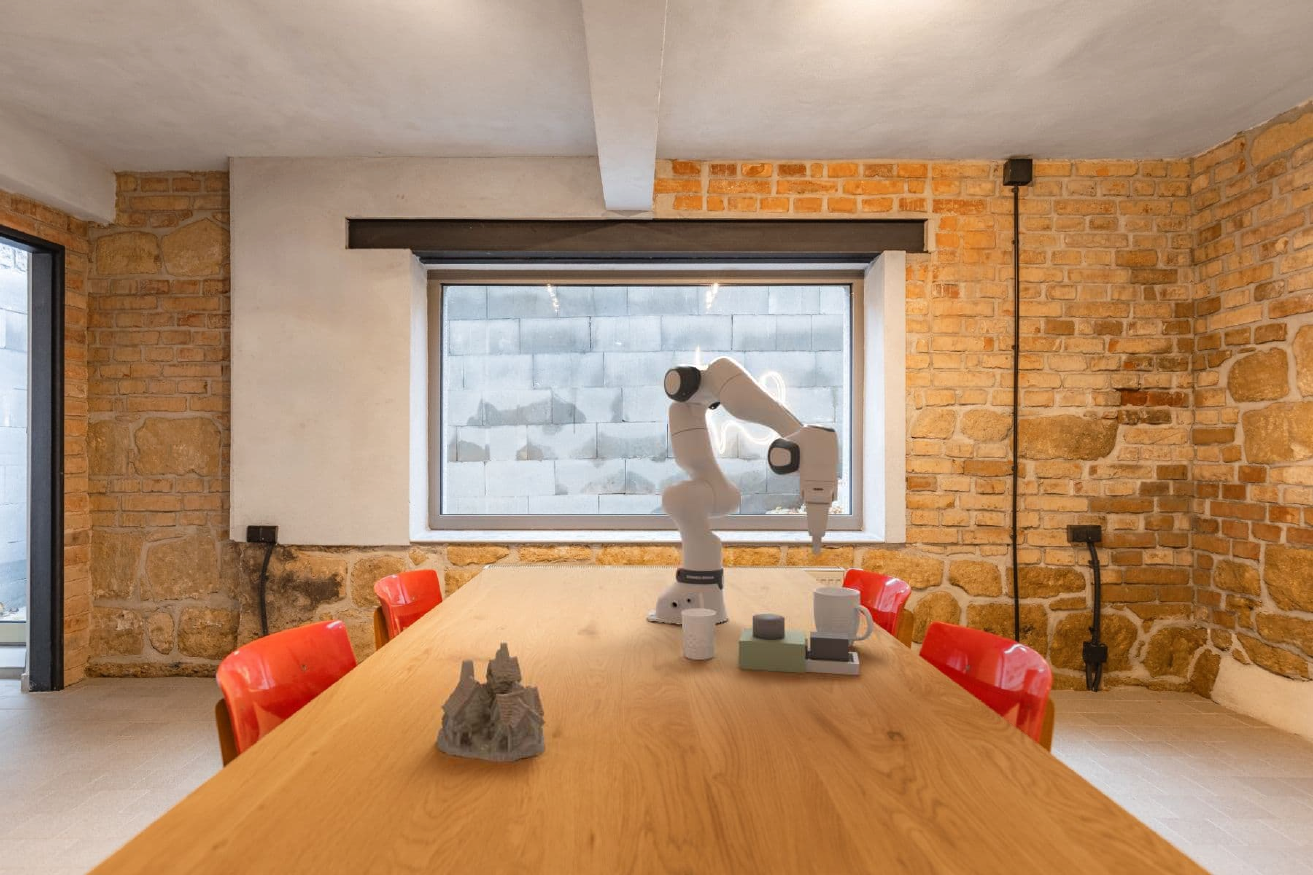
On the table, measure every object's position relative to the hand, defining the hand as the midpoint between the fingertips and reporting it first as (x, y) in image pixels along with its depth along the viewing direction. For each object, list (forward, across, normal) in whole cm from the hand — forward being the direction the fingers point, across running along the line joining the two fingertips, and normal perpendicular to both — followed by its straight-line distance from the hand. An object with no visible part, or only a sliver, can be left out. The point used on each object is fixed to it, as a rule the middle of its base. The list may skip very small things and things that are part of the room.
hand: (816, 550), depth 163 cm
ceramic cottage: (+24, +67, -49) cm, 86 cm away
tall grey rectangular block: (+22, +13, +3) cm, 26 cm away
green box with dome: (+23, +13, -3) cm, 27 cm away
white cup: (+24, +12, -26) cm, 37 cm away
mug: (+24, -5, +6) cm, 25 cm away
